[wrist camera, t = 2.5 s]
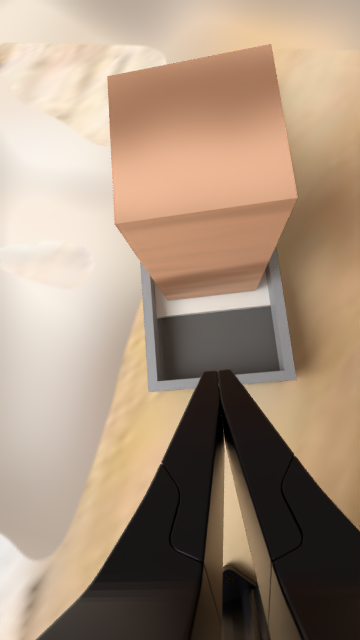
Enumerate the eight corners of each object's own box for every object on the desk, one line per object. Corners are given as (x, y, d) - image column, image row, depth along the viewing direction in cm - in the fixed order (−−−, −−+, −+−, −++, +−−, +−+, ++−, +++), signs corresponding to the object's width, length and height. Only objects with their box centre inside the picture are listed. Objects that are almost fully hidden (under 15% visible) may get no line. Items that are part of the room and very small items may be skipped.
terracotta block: (255, 290, 20) (297, 197, 10) (167, 300, 21) (114, 223, 10) (244, 209, 21) (271, 44, 11) (161, 221, 22) (107, 76, 11)
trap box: (288, 379, 20) (296, 379, 18) (155, 390, 21) (148, 391, 19) (246, 98, 24) (249, 73, 22) (136, 118, 25) (129, 96, 23)
